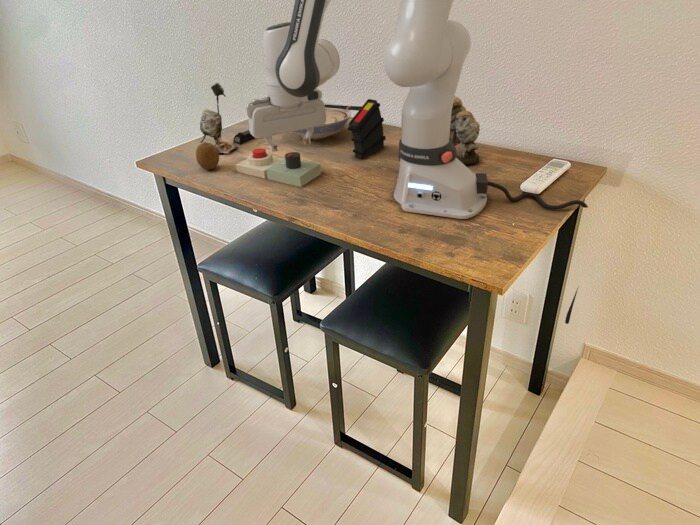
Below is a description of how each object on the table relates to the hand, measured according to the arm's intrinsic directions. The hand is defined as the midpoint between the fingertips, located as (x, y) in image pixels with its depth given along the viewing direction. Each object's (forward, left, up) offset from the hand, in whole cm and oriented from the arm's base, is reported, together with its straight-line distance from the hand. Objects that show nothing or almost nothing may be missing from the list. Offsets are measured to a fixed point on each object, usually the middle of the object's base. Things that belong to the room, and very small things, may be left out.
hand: (290, 147), depth 137 cm
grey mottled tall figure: (+32, -5, -8) cm, 34 cm away
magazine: (-10, -23, -8) cm, 26 cm away
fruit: (+24, +7, -8) cm, 27 cm away
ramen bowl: (+12, -29, -8) cm, 33 cm away
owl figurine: (-32, -31, -8) cm, 45 cm away
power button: (+11, 0, -5) cm, 12 cm away
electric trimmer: (+30, -19, -8) cm, 37 cm away
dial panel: (0, 0, -8) cm, 8 cm away
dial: (0, 0, -5) cm, 5 cm away
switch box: (+11, 0, -8) cm, 14 cm away
